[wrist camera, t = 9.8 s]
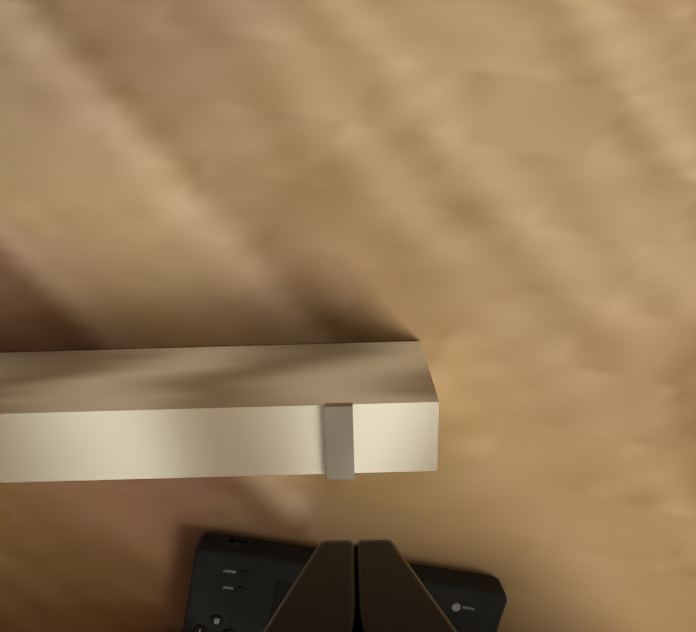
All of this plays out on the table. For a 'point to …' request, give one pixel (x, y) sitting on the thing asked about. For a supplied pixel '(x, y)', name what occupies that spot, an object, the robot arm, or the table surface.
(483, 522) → the table surface
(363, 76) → the table surface
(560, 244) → the table surface
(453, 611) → the handheld gaming console
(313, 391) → the rail
